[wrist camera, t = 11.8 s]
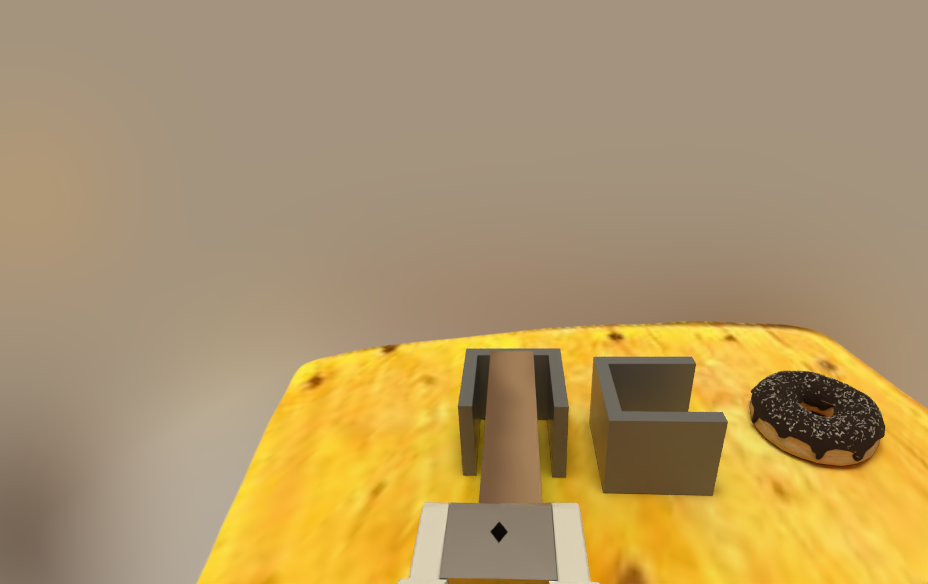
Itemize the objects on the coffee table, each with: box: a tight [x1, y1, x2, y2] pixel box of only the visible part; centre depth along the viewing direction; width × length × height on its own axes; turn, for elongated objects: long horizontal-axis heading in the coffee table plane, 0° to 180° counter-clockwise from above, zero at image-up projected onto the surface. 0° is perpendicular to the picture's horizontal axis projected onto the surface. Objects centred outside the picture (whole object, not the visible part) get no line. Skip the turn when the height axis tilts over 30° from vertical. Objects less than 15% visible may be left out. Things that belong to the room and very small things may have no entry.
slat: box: [479, 351, 542, 504], centre depth 43 cm, size 4×20×10 cm, turn 175°
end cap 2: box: [589, 357, 728, 495], centre depth 48 cm, size 9×9×8 cm
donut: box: [750, 370, 885, 466], centre depth 52 cm, size 11×12×4 cm
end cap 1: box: [458, 349, 569, 477], centre depth 51 cm, size 9×9×8 cm
